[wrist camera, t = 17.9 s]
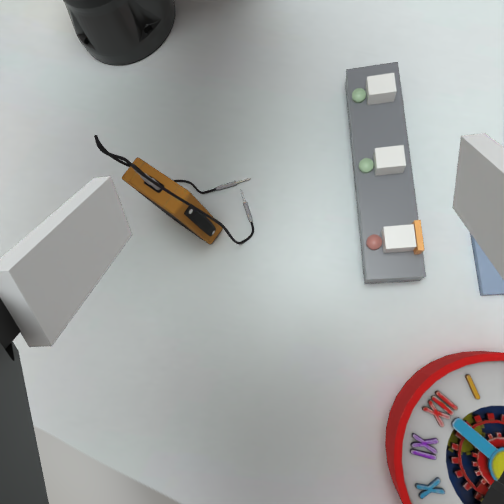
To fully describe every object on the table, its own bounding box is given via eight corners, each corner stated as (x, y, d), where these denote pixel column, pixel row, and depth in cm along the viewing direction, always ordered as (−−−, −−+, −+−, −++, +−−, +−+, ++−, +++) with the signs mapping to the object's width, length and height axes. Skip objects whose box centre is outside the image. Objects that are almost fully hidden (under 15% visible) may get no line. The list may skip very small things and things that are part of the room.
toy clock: (551, 668, 31) (347, 471, 37) (517, 619, 37) (345, 454, 43) (706, 471, 32) (484, 307, 38) (650, 451, 38) (464, 311, 43)
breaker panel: (345, 84, 52) (347, 58, 47) (393, 77, 51) (400, 50, 46) (364, 283, 46) (368, 276, 41) (419, 280, 45) (430, 273, 40)
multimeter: (280, 197, 50) (250, 108, 31) (234, 262, 49) (173, 212, 30) (192, 143, 54) (117, 33, 35) (148, 202, 53) (47, 123, 34)
